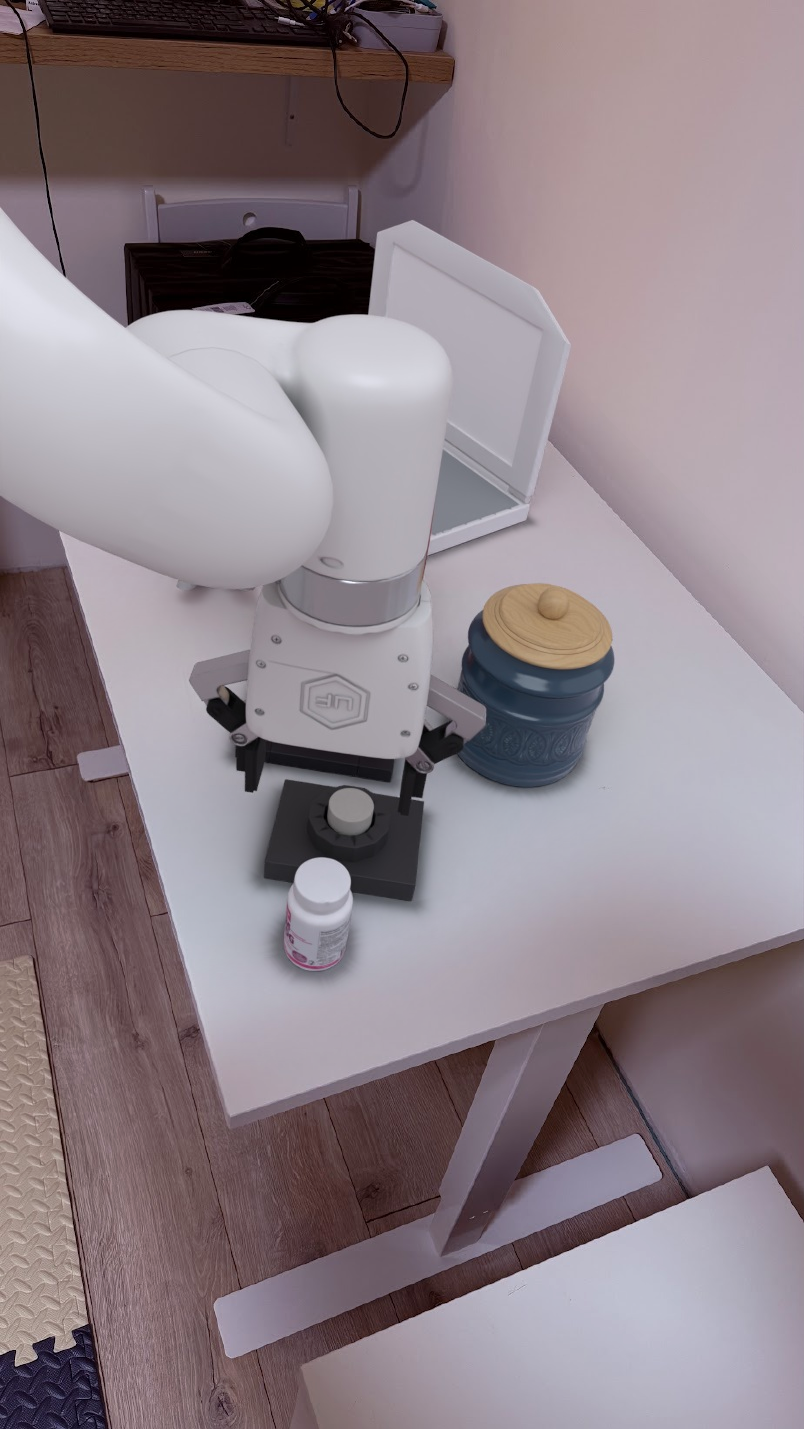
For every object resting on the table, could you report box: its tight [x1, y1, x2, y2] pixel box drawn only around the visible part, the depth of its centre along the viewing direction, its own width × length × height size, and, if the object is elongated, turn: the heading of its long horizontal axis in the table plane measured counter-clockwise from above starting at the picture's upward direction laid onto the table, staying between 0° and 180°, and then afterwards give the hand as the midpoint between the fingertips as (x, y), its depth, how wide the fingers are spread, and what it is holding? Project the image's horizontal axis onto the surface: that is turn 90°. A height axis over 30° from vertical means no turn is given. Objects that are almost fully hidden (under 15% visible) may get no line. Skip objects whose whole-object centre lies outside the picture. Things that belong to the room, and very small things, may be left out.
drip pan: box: [234, 740, 395, 783], centre depth 95 cm, size 14×14×2 cm
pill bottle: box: [283, 857, 354, 972], centre depth 74 cm, size 5×5×8 cm
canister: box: [448, 582, 615, 788], centre depth 90 cm, size 13×13×18 cm
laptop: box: [367, 219, 572, 557], centre depth 118 cm, size 33×24×26 cm
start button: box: [327, 788, 374, 836], centre depth 81 cm, size 4×4×2 cm
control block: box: [263, 778, 425, 902], centre depth 83 cm, size 12×9×4 cm
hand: (330, 787), depth 64 cm, fingers open, 9 cm apart
